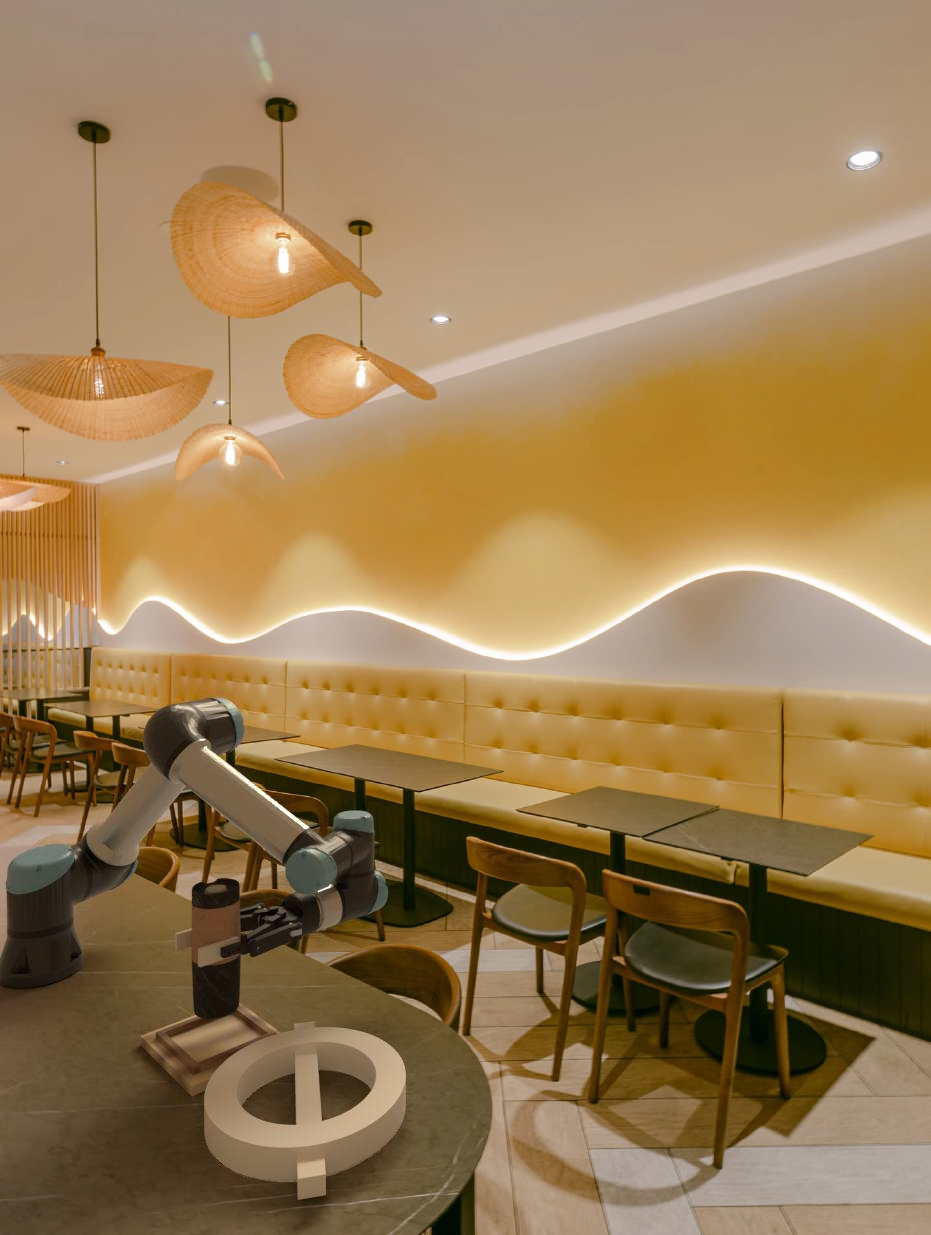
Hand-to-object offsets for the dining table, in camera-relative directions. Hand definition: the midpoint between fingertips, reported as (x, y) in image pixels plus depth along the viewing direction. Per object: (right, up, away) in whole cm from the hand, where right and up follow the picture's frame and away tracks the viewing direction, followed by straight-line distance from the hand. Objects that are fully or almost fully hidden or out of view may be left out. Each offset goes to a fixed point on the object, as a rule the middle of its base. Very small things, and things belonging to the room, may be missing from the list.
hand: (187, 949), depth 123 cm
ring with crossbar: (+22, -18, -12) cm, 31 cm away
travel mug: (+4, -11, +4) cm, 12 cm away
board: (+3, -18, +4) cm, 18 cm away
